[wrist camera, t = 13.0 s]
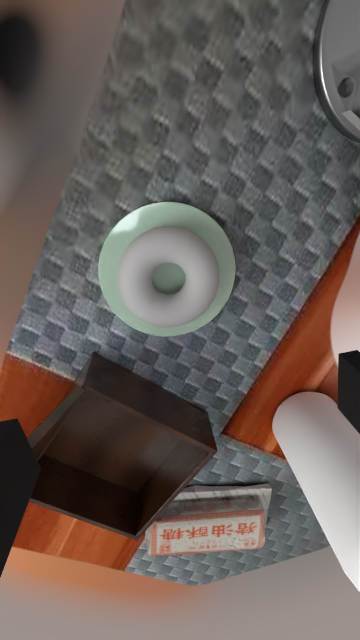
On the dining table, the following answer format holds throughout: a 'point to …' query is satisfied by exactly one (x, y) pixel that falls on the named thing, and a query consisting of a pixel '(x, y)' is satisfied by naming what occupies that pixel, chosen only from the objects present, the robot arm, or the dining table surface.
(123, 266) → the donut
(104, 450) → the wooden box
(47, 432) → the lid
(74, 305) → the dining table surface
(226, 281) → the saucer
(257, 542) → the packaged product
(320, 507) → the alcohol
